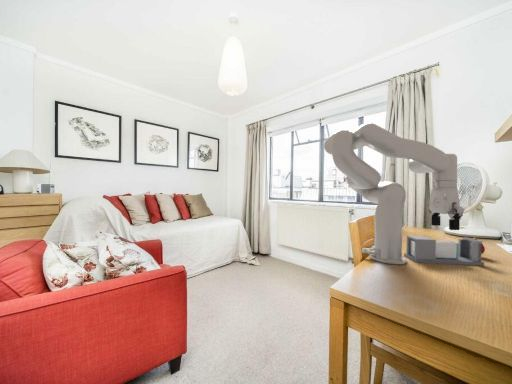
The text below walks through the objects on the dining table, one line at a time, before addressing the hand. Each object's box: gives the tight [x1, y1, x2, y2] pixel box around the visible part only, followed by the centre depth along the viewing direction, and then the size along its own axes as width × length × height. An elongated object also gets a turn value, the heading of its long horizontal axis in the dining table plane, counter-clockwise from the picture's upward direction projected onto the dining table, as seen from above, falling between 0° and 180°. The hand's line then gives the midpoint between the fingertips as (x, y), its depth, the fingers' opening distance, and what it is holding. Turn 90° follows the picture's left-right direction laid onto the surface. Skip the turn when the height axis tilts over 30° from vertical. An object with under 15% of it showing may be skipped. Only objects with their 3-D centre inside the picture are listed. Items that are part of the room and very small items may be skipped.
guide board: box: [403, 235, 485, 266], centre depth 86 cm, size 24×8×9 cm, turn 83°
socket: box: [458, 236, 483, 262], centre depth 85 cm, size 3×7×8 cm, turn 173°
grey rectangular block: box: [410, 240, 459, 259], centre depth 86 cm, size 16×4×6 cm, turn 83°
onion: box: [472, 237, 486, 255], centre depth 92 cm, size 6×6×8 cm
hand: (444, 227), depth 86 cm, fingers open, 9 cm apart
